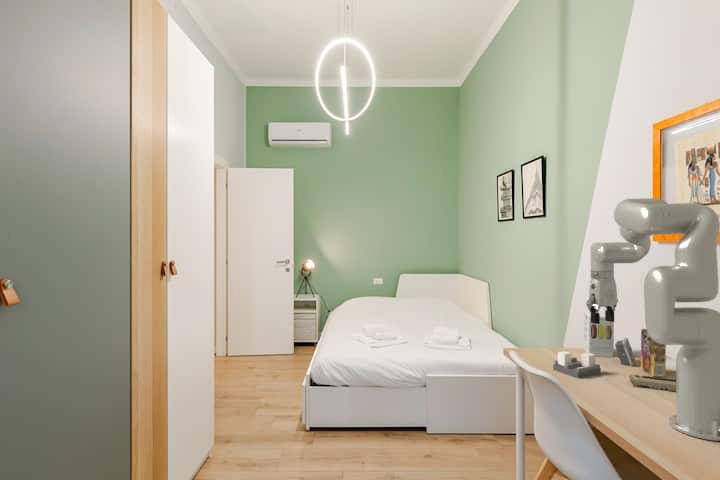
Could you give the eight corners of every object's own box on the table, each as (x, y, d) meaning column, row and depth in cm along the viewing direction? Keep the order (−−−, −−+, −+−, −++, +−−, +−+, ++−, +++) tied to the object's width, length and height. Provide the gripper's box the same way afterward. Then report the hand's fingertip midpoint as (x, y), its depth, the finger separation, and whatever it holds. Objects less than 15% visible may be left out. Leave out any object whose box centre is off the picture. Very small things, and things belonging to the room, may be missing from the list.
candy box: (666, 377, 144) (666, 334, 144) (653, 376, 145) (653, 334, 144) (653, 369, 153) (652, 328, 153) (640, 368, 153) (640, 328, 153)
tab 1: (571, 365, 151) (571, 353, 151) (564, 366, 150) (564, 354, 150) (564, 362, 154) (564, 351, 154) (557, 364, 153) (557, 352, 153)
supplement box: (588, 355, 170) (588, 315, 170) (583, 349, 179) (583, 311, 179) (614, 357, 168) (614, 316, 168) (608, 351, 177) (607, 312, 176)
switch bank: (600, 373, 149) (600, 364, 149) (577, 378, 144) (577, 368, 144) (575, 365, 158) (575, 356, 158) (553, 369, 154) (553, 360, 153)
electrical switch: (633, 367, 156) (629, 342, 156) (617, 365, 159) (614, 341, 159) (635, 361, 163) (632, 337, 163) (620, 360, 166) (617, 337, 167)
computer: (685, 387, 136) (685, 377, 136) (692, 395, 128) (692, 385, 128) (629, 380, 143) (629, 370, 143) (633, 388, 135) (633, 378, 135)
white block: (595, 366, 149) (595, 354, 149) (589, 367, 148) (588, 355, 148) (588, 364, 152) (588, 352, 152) (581, 365, 151) (581, 353, 151)
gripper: (595, 277, 146) (596, 326, 146) (627, 275, 153) (627, 322, 153) (577, 275, 153) (577, 322, 153) (608, 273, 160) (608, 318, 160)
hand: (602, 322), depth 153 cm, fingers open, 7 cm apart
